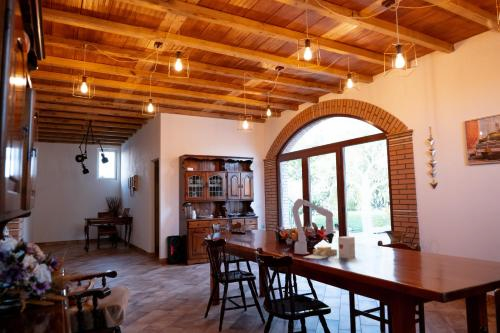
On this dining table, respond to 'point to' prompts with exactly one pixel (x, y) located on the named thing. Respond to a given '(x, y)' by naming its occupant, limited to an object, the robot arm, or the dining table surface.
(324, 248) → the card
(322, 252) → the deck
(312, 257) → the mat
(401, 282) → the dining table surface
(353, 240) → the supplement box
